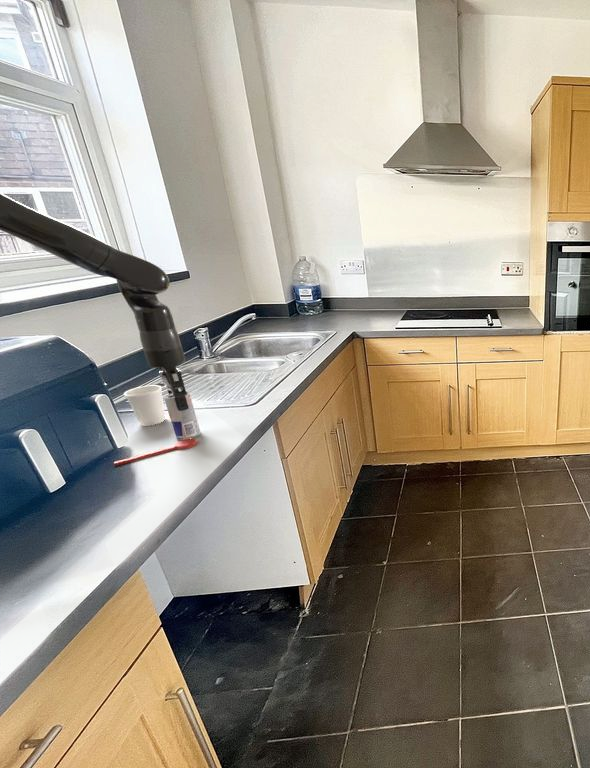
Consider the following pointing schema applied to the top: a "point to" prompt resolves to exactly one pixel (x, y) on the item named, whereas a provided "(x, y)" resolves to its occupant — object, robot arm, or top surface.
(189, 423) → the energy drink
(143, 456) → the spoon
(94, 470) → the top surface
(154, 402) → the dixie cup
